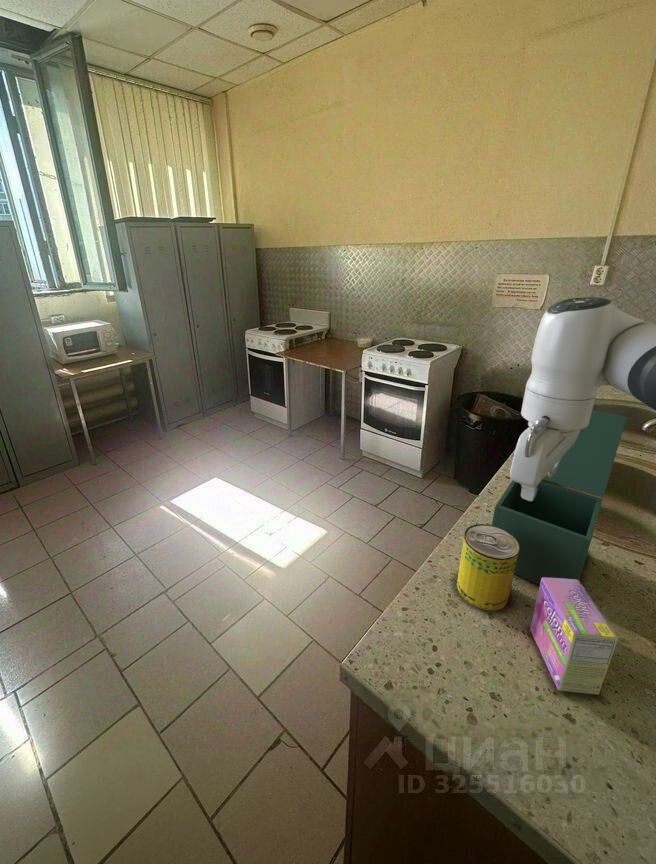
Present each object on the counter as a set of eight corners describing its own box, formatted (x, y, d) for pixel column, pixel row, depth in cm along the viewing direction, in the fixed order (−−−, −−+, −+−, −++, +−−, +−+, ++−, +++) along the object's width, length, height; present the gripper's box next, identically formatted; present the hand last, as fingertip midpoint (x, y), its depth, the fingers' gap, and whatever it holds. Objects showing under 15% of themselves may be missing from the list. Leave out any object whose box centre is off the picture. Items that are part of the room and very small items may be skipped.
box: (528, 628, 68) (541, 576, 64) (564, 632, 67) (579, 579, 63) (556, 691, 58) (574, 634, 54) (599, 696, 57) (620, 639, 53)
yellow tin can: (512, 615, 70) (524, 563, 66) (458, 604, 73) (466, 552, 69) (503, 577, 78) (513, 528, 74) (455, 568, 81) (462, 520, 77)
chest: (573, 600, 73) (591, 540, 68) (485, 560, 83) (495, 505, 78) (586, 553, 84) (602, 499, 79) (507, 523, 94) (517, 473, 89)
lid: (626, 416, 77) (626, 416, 77) (536, 399, 86) (537, 399, 87) (603, 497, 78) (603, 497, 79) (517, 471, 88) (517, 471, 89)
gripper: (557, 436, 51) (537, 524, 56) (597, 395, 64) (578, 469, 69) (506, 422, 55) (492, 505, 60) (553, 387, 68) (538, 457, 73)
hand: (538, 485), depth 65 cm, fingers open, 8 cm apart
